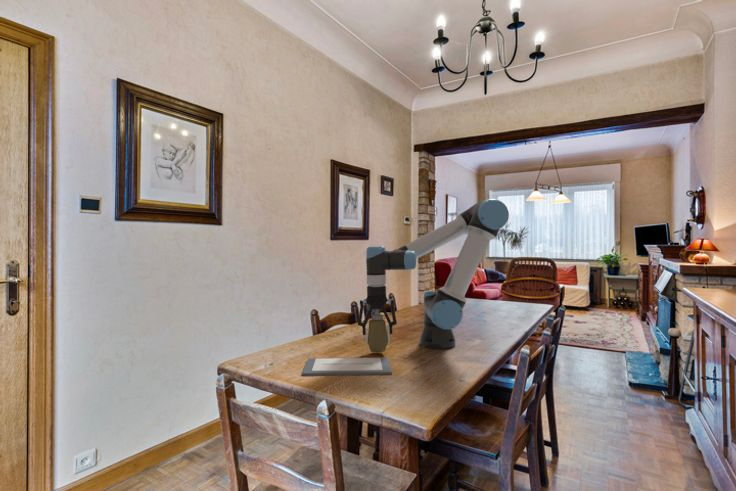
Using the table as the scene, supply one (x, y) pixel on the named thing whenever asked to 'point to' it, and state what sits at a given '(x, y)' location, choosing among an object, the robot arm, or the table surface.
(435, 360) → the table surface
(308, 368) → the writing board
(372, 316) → the squeeze bottle
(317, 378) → the table surface
